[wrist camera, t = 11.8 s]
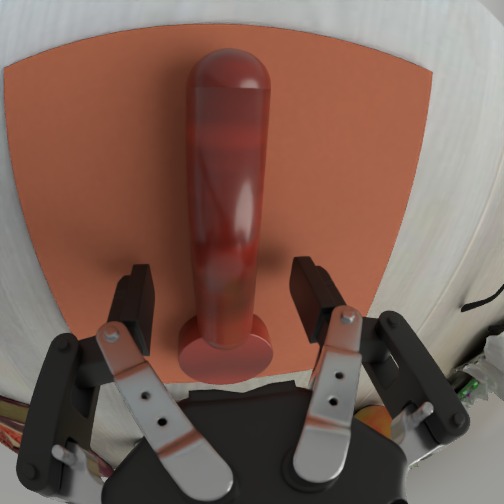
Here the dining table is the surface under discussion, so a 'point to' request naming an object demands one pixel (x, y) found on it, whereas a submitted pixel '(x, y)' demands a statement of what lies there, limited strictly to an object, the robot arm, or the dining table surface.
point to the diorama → (484, 375)
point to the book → (12, 424)
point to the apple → (376, 418)
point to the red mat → (175, 174)
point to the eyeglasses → (482, 302)
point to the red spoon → (225, 216)
